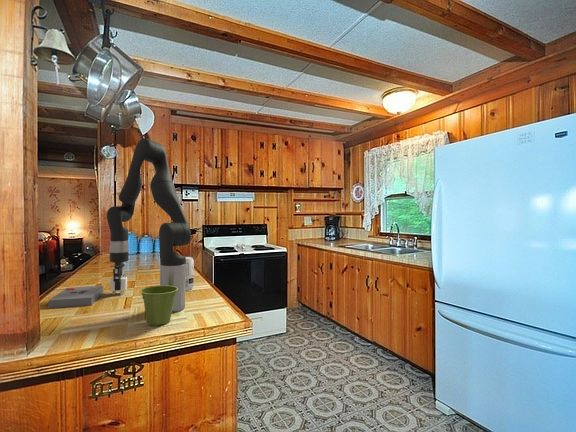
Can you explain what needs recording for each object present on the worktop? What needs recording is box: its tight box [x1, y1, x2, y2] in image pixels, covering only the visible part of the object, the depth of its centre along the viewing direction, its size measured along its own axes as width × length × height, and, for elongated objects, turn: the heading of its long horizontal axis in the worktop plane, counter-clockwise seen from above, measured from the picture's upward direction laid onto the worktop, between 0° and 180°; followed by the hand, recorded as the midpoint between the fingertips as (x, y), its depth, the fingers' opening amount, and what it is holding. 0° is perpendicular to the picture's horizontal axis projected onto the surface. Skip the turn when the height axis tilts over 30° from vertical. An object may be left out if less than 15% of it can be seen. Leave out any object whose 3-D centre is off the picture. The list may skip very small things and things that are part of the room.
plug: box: [109, 276, 128, 296], centre depth 135 cm, size 4×6×7 cm
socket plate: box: [48, 285, 104, 309], centre depth 126 cm, size 20×14×4 cm
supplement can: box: [185, 256, 195, 291], centre depth 147 cm, size 8×8×15 cm
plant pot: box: [139, 285, 178, 327], centre depth 102 cm, size 12×12×11 cm
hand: (118, 288), depth 135 cm, fingers closed on plug, 4 cm apart
